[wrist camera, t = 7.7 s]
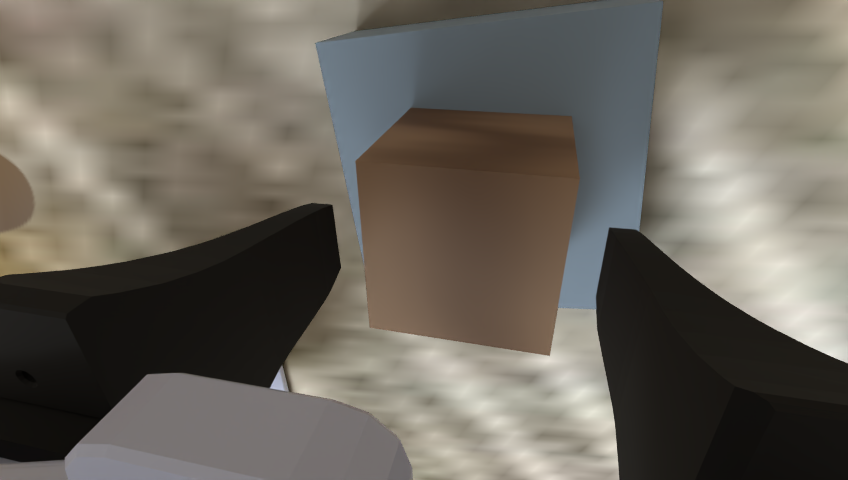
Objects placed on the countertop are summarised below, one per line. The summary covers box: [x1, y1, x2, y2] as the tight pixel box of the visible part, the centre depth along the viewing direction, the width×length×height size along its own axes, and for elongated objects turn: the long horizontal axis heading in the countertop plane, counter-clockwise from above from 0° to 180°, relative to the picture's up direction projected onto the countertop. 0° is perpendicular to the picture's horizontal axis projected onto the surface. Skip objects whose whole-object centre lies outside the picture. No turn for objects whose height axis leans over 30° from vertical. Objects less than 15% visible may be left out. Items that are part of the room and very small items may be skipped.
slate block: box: [315, 0, 663, 309], centre depth 17 cm, size 10×10×4 cm
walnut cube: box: [355, 108, 580, 356], centre depth 14 cm, size 5×5×5 cm
